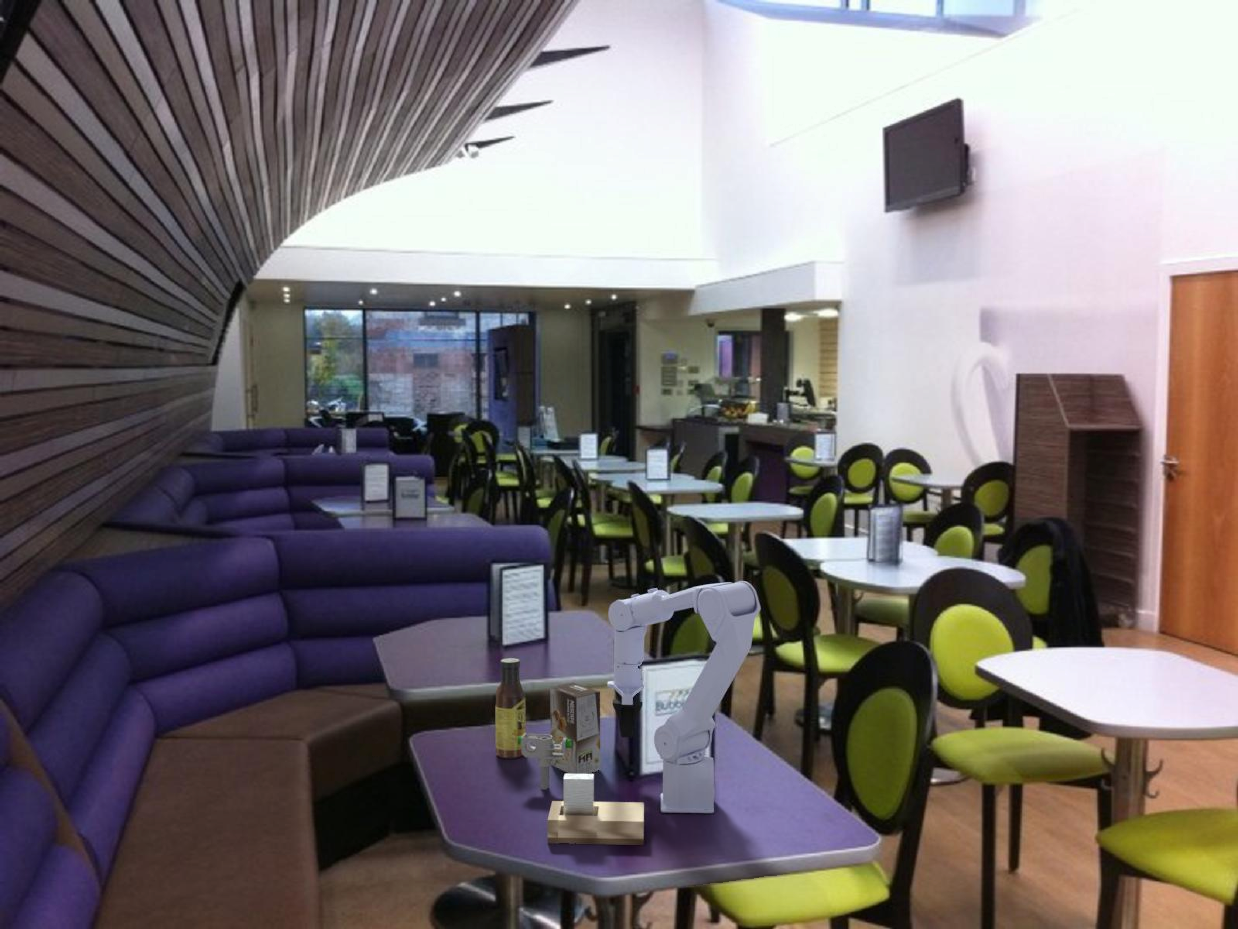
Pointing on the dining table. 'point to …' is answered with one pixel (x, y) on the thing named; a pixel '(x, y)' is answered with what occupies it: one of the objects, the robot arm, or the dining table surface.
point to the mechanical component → (543, 752)
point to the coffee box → (576, 727)
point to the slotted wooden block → (598, 824)
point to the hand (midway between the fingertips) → (627, 730)
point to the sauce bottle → (509, 710)
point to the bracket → (579, 794)
